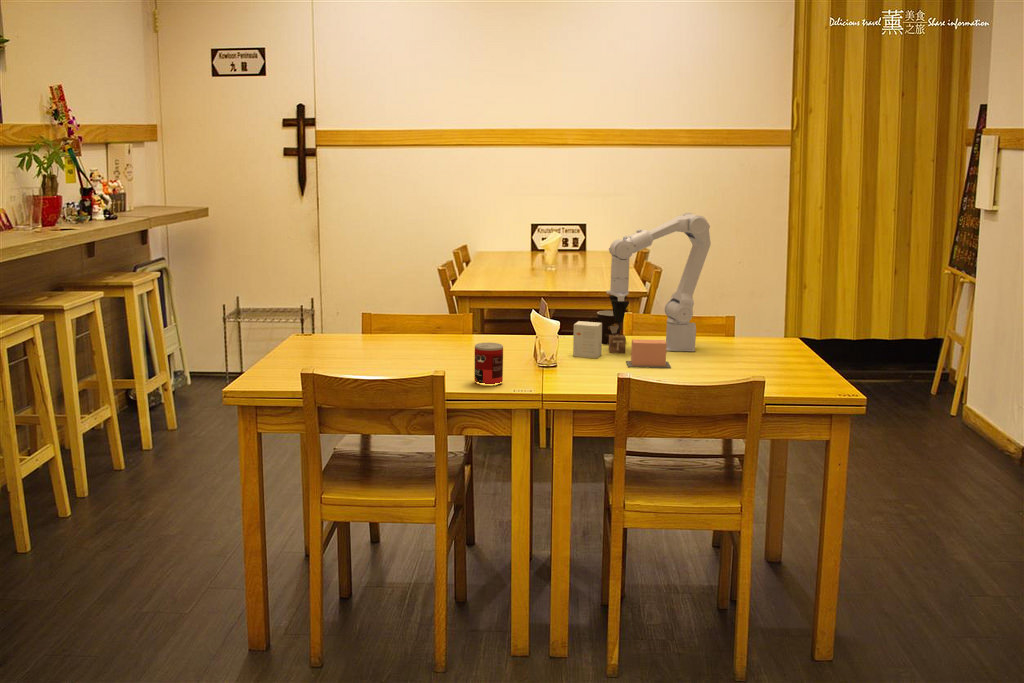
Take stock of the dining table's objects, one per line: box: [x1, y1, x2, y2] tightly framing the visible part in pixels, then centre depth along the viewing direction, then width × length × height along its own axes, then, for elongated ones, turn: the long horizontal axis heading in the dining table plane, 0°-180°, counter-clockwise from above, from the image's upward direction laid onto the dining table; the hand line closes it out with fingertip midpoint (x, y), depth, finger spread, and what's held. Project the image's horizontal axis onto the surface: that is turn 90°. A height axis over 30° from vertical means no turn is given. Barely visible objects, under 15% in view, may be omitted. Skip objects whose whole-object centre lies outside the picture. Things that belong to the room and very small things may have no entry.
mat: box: [625, 360, 672, 369], centre depth 317 cm, size 13×7×1 cm, turn 89°
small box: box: [572, 320, 603, 359], centre depth 327 cm, size 8×6×10 cm
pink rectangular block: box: [630, 338, 667, 366], centre depth 316 cm, size 10×5×7 cm, turn 89°
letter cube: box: [608, 334, 627, 354], centre depth 334 cm, size 5×5×5 cm
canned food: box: [474, 342, 504, 384], centre depth 292 cm, size 8×8×11 cm
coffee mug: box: [587, 310, 623, 346], centre depth 346 cm, size 12×9×10 cm
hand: (618, 319), depth 333 cm, fingers open, 7 cm apart
